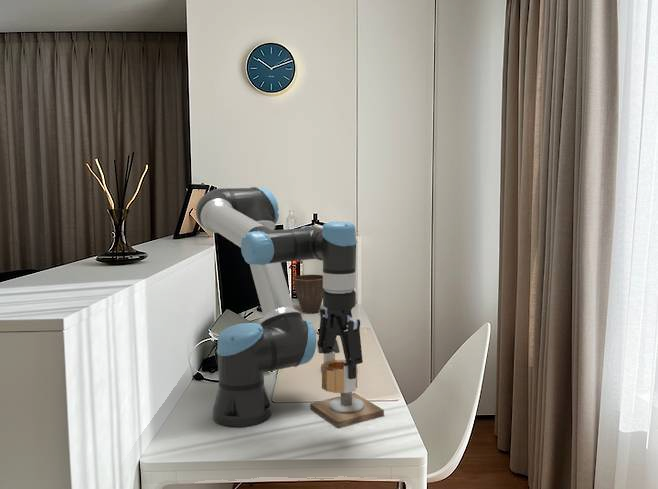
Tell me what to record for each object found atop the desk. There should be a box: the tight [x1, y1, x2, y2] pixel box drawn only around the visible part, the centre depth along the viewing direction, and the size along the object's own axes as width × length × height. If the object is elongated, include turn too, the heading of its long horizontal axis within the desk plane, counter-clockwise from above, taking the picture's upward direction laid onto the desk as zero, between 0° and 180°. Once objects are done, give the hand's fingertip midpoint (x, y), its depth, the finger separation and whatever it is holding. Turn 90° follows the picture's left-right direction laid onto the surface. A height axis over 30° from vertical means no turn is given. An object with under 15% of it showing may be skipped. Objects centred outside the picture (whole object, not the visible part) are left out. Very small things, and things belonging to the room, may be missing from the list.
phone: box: [316, 339, 340, 354], centre depth 213 cm, size 7×1×15 cm
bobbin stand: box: [309, 391, 385, 429], centre depth 154 cm, size 14×14×13 cm
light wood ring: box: [321, 359, 358, 394], centre depth 137 cm, size 8×8×5 cm
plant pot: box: [292, 274, 325, 314], centre depth 266 cm, size 15×15×16 cm
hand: (339, 385), depth 137 cm, fingers closed on light wood ring, 8 cm apart
